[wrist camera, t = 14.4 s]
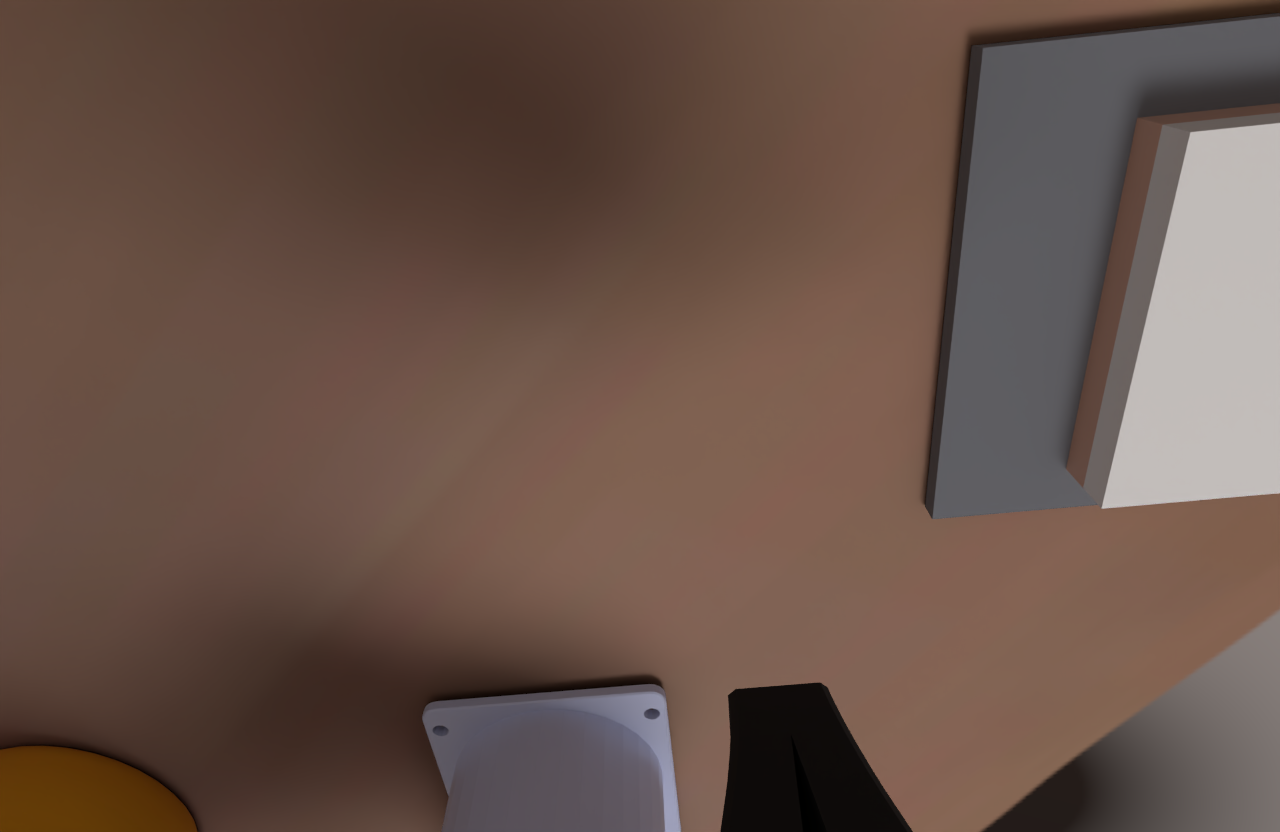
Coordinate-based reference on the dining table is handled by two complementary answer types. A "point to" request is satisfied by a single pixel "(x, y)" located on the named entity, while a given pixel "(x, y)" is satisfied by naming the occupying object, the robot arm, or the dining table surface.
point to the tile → (1188, 318)
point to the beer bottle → (82, 794)
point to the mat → (1054, 237)
